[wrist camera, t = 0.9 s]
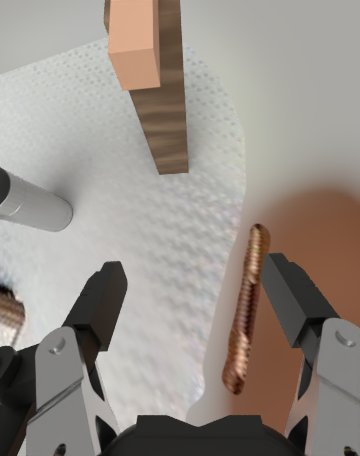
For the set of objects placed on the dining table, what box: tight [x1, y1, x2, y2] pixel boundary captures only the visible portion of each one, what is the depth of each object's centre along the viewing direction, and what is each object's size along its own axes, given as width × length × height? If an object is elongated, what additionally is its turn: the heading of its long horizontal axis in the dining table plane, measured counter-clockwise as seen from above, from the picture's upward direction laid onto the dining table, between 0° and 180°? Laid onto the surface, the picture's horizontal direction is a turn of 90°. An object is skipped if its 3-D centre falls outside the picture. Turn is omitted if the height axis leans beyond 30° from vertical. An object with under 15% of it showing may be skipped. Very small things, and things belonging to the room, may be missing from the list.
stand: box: [104, 0, 188, 175], centre depth 36 cm, size 16×8×32 cm, turn 3°
